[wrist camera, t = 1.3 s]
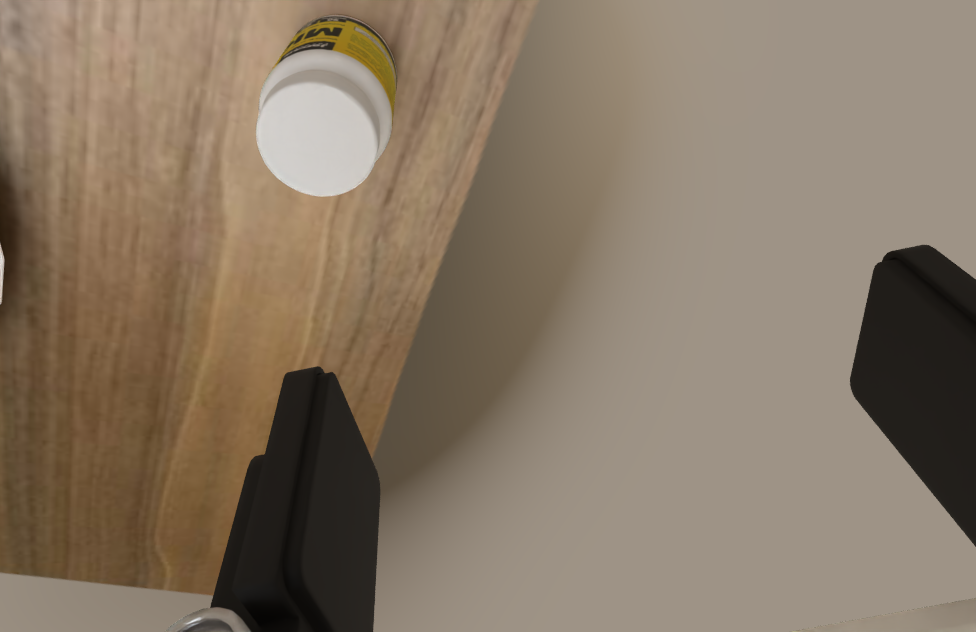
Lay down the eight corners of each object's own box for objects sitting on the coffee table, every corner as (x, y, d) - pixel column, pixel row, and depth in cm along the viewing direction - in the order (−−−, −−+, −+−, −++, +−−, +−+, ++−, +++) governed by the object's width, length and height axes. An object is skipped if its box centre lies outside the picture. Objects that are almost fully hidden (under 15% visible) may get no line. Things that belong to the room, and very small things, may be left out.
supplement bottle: (345, -13, 26) (320, 35, 19) (419, 81, 29) (420, 154, 22) (261, 61, 27) (211, 130, 21) (339, 145, 30) (317, 232, 23)
